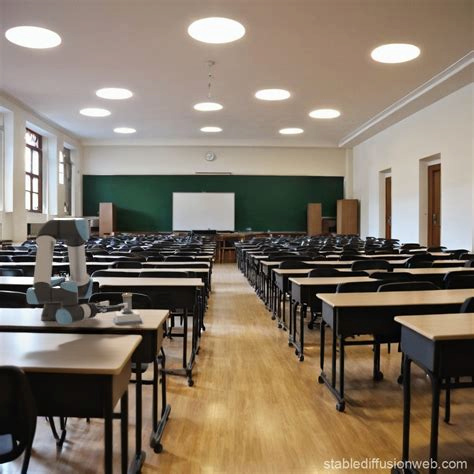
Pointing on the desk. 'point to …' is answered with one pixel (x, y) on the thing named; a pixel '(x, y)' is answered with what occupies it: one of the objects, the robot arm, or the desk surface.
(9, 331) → the desk surface
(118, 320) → the socket block
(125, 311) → the grey metal peg
